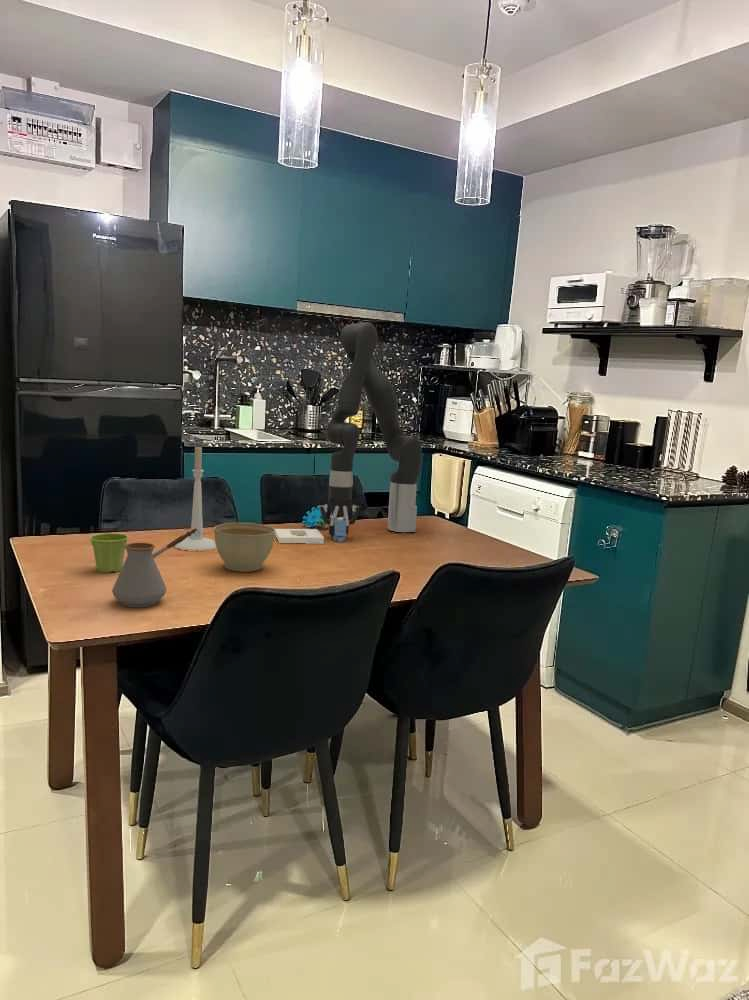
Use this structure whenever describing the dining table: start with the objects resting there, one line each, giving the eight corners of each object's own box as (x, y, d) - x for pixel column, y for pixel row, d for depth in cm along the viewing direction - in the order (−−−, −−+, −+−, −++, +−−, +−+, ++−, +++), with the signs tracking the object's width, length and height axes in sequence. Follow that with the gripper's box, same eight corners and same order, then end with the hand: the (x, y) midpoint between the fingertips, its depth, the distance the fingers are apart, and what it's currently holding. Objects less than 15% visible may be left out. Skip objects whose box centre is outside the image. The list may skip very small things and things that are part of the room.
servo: (340, 535, 244) (341, 514, 243) (346, 541, 236) (347, 519, 235) (330, 535, 244) (331, 514, 242) (335, 541, 235) (336, 519, 234)
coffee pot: (130, 613, 155) (131, 544, 153) (101, 601, 162) (101, 534, 160) (212, 595, 172) (213, 532, 169) (182, 584, 179) (183, 524, 176)
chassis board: (316, 535, 244) (316, 529, 244) (323, 543, 232) (323, 537, 231) (274, 534, 240) (274, 528, 240) (279, 543, 228) (279, 537, 228)
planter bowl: (248, 579, 186) (249, 537, 185) (200, 568, 194) (200, 528, 192) (285, 567, 200) (287, 528, 199) (239, 557, 208) (240, 520, 206)
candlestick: (217, 542, 226) (219, 444, 221) (219, 551, 214) (222, 448, 209) (174, 542, 222) (175, 443, 218) (174, 552, 210) (175, 447, 205)
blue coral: (296, 520, 258) (316, 500, 260) (305, 531, 261) (324, 511, 264) (311, 531, 249) (331, 510, 251) (320, 541, 253) (340, 521, 255)
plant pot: (82, 572, 184) (82, 539, 182) (101, 564, 193) (101, 531, 191) (117, 576, 182) (117, 542, 181) (134, 567, 192) (135, 534, 190)
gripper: (359, 483, 242) (356, 534, 245) (317, 482, 239) (314, 534, 241) (364, 486, 235) (362, 539, 238) (321, 485, 231) (318, 539, 234)
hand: (338, 536), depth 240 cm, fingers closed on servo, 3 cm apart
